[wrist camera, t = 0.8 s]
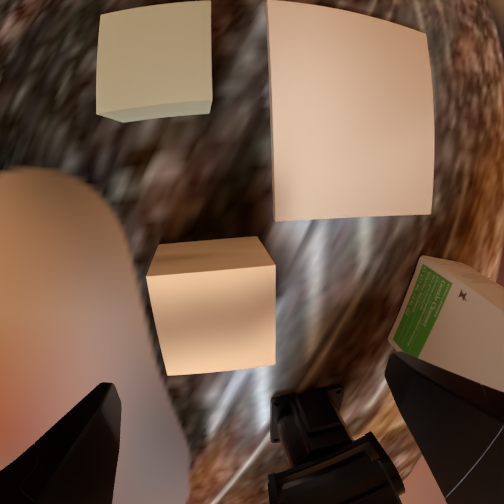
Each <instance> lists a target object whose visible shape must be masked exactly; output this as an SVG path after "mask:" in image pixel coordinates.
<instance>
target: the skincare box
mask: <svg viewBox="0 0 504 504" xmlns="http://www.w3.org/2000/svg"><path fill="white" fill-rule="evenodd" d="M388 342H389V343H390V344H391V345H392V346H393V347H394V348H395V349H396V351H397V352H399V351H402V352H404V353H407V354H409V355H411V356H414V357H416V358H419V359H421V360H423V361H426V362H428V363H431V364H433V365H435V366H438V367H440V368H443V369H445V370H448V371H450V372H453V373H455V374H458V375H460V376H463V377H465V378H468V379H470V380H473V381H475V382H478V383H480V384H481V385H482V384H483V385H485V386H488V387H491V388H493V389H496V390H499V391H502V392H504V288H503V287H501V286H500V285H498V284H497V283H495V282H494V281H492V280H490V279H489V278H487V277H486V276H484V275H483V274H481V273H479V272H478V271H476V270H474V269H473V268H471V267H469V266H468V265H466V264H464V263H460V262H455V261H451V260H445V259H440V258H435V257H429V256H424V255H422V256H421V257H420V258H419V261H418V263H417V267H416V270H415V273H414V276H413V278H412V281H411V283H410V286H409V288H408V291H407V294H406V296H405V299H404V301H403V304H402V306H401V309H400V311H399V314H398V316H397V318H396V321H395V323H394V325H393V328H392V330H391V332H390V334H389V336H388Z"/></svg>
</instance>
